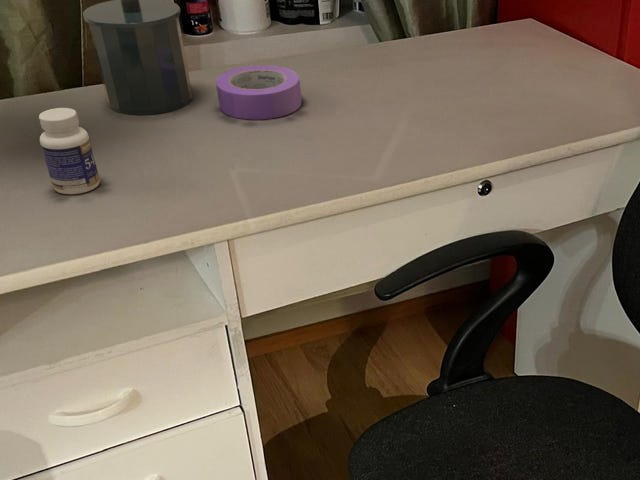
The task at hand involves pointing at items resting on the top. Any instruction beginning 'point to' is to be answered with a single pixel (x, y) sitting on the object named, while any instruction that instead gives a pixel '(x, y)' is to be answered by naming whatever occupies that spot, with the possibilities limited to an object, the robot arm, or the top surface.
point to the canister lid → (131, 13)
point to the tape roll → (259, 92)
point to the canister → (143, 67)
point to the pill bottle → (67, 152)
